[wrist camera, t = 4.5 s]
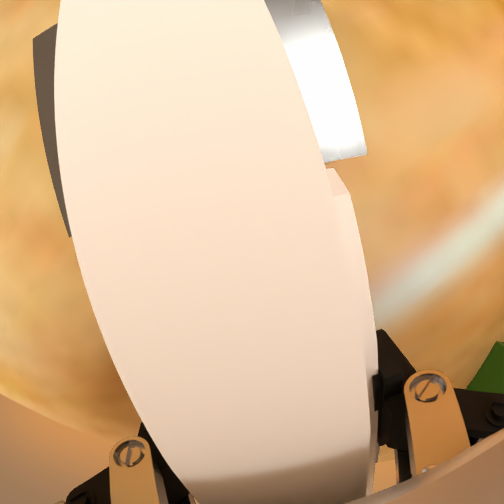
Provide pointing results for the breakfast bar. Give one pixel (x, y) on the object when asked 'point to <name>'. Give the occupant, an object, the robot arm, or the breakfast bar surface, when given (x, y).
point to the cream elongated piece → (217, 248)
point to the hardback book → (490, 372)
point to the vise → (303, 63)
